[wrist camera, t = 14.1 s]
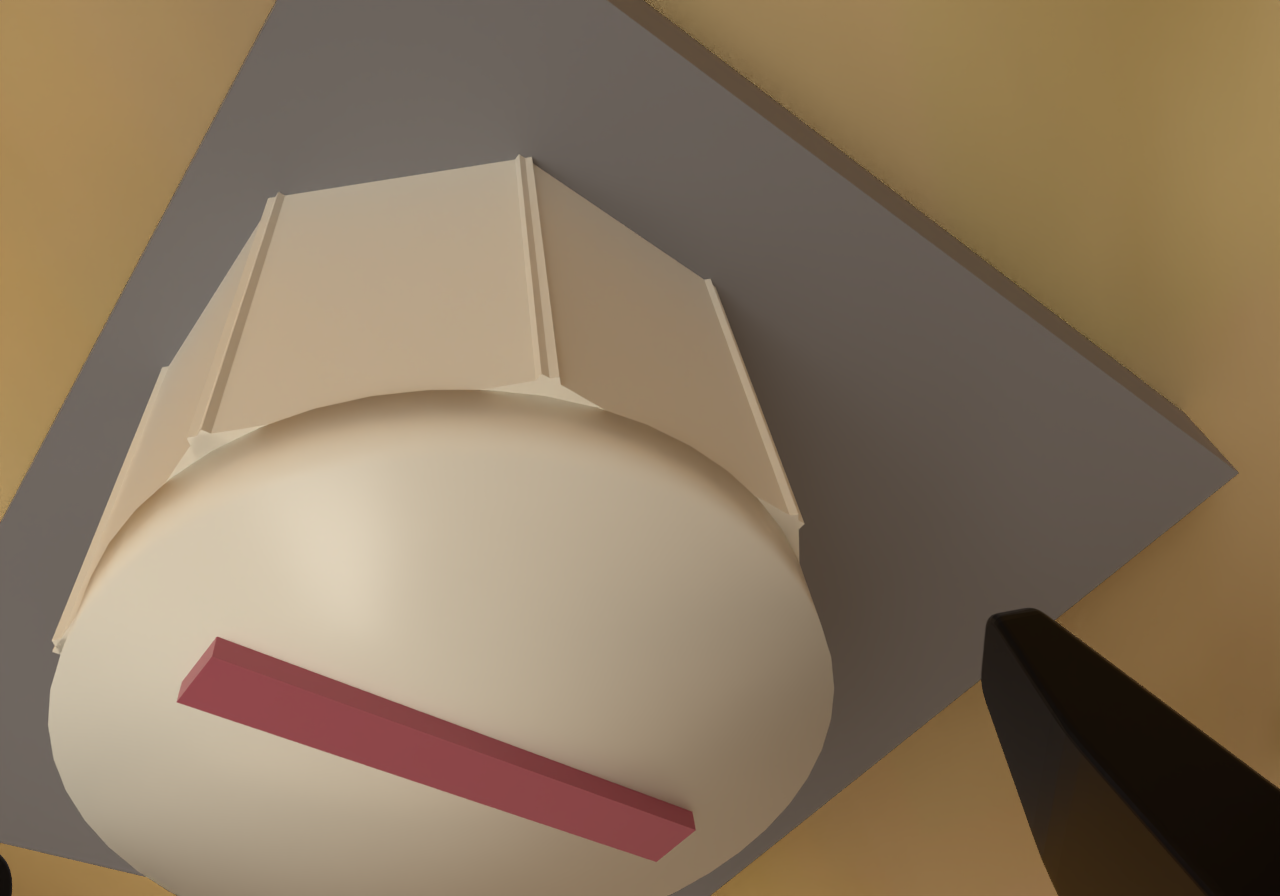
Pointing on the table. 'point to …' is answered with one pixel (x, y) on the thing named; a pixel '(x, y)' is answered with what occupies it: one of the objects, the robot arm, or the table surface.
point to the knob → (444, 568)
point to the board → (755, 308)
